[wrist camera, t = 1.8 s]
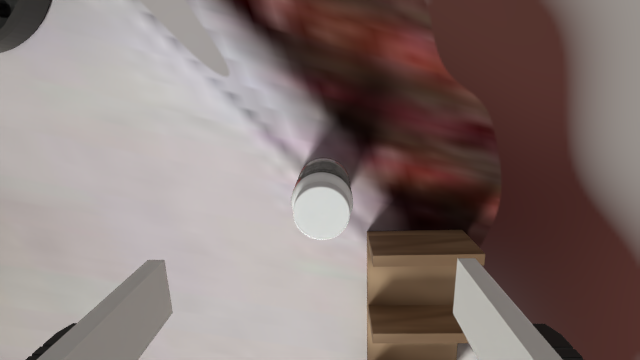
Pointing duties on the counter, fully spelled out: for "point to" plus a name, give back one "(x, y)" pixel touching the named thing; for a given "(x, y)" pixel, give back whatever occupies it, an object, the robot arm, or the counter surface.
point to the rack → (414, 293)
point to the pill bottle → (322, 199)
